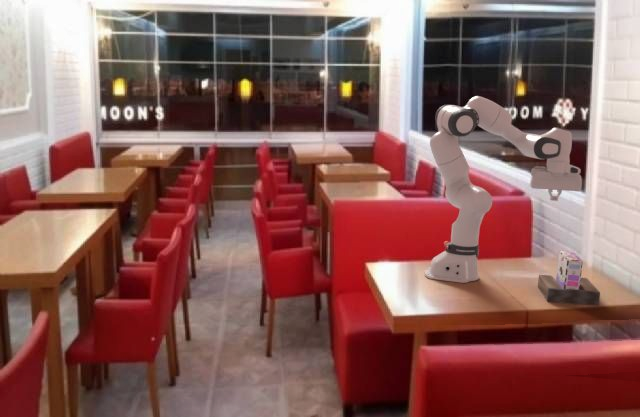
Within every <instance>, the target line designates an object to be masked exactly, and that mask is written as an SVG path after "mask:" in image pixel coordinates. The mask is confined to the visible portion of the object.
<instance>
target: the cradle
mask: <svg viewBox="0 0 640 417" xmlns="http://www.w3.org/2000/svg"><path fill="white" fill-rule="evenodd" d="M537 282H538V283H537V288H538V289H539V291H540V292H541V294H542V295H543V297H544V299H545V301H546V302H549V303H559V302H563V303H562V304H573V305H574V304H575V305H577V304H578V305H587V306H588V305H589V306H600V305H599V304H600V298H601V297H600V296H601V292H600V291H599V290H598V289H597V287H596V286H595V285H594V284H593V283H592V282H591V281H590V279H588V277H581V279H580V287H579V290H574V289H561V287H560V286H559V285H558V283H557V282H556V279H555V278H554V277H553V275H550V274H548V275H547V274H538V280H537Z"/></svg>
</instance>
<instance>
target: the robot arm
mask: <svg viewBox="0 0 640 417" xmlns="http://www.w3.org/2000/svg"><path fill="white" fill-rule="evenodd" d="M512 118H513V117H512V114H511V113H510V112H509V111H508V110H506V109H505V108H504V106H501V105H499V104H498V103H496V102H494V101H493V100H490V99H488V98H485V97H483V96H479V95H475V96H473V97H471V98H470V99H468V102H467V103H466V104H465V105H464V106H459V105H455V104H452V103H449V104H444V105H442V106H439V108H438V109H437V110H436V112H435V118H434V120H435V126H434V129H435V131H436V132H435V133H434V134H433V135H432V136H431V137H430V140H429V146H430V148H431V149H430V150H431V154H432V156H433V159H434V160H435V163H436V165H437V167H438V169H439V171H440V174H441V176H442V178H443V180H444V185H445V192H444V196H445V199H446V201H447V202H448V203H449V204H451V205H452V206H453V207H455V208H457V209H459V213H458V216H457V218H456V220H455V221H454V222H453V223H452V224H451V234H450V241H448V240H446V241H444V242H443V245H444V247H445V248H444V251H442V252H441V253H439V254H437V255H436V256H434V257H433V258H432V259H431V262H430V266H429V267H425V269H424V271H423V272H424V276H425V277H426V278H428V279H430V280H436V281H437V280H438V281H447V282H455V283H459V284H460V283H461V284H466V283H469V282H473V281H477V280H479V279H480V276H479V269H478V257H479V252H480V245H479V236H480V228H481V224H482V222H483V219H484V217H485V214H486V213H488V212H489V211H490V209H491V208H492V205H493V198H492V195H491V193H490V192H488V191H487V190H486V189H484V188H483V187H481V186H477V185H475V184H473V183H472V182H471V178H470V176H469V173H470V166H469V164H468V161H467V159H466V157H465V155H464V153H463V150H462V148H461V146H460V144H459V137H461V138H462V137H466V136H469V135H470V134H471V133H472V132H473V131H475V128H476V127H477V126H478V127H479V128H481V129H483V130H484V131H486V132H487V133H490V134H492V135H496V136H500V137H502V139H504V140H506V141H507V142H508V143H510V144H512V145H513V146H514V148H515V150H516V151H517V152H518V154H519V155H521V156H523V157H526V158H533V159H538V160H546V166H542V165H541V166H540V165H535V166H534V167H532V168H531V170H530V183H529V186H530V188H531V189H535V190H547V192H548V194H549V200H550V201H555V202H557V201H558V200H559V197H560V196H561V195H562V192H563V191H567V192H568V191H569V192H580V191H582V185H583V182H582V181H583V177H582V176H581V168H580V167H578V166H575V165H574V164H570V163H571V162H570V160H571V159H570V154H571V151H572V146H573V135H572V132H571V130H569V129H567V128H562V127H556V126H555V127H553V128H551V129H550V130H549V131H547V132H545V133H543V134H535V133H531V132H525V131H521V130H520V129H519V128H518V127H516V126H514V125H513V124H512ZM554 191H557V193H556V195H553V192H554Z"/></svg>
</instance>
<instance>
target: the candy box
mask: <svg viewBox="0 0 640 417" xmlns="http://www.w3.org/2000/svg"><path fill="white" fill-rule="evenodd" d="M582 269H583V259H581V258H580V257H579V256H578V255H577V254H576V253H575V251H565V250H564V251H562V250H560V251H558V259H557V271H556V272H557V273H556V279H555V281H556V282H557V283H558V285H559V286H560V287H561V289H574V290H579V287H580V279H581V278H582Z"/></svg>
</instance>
